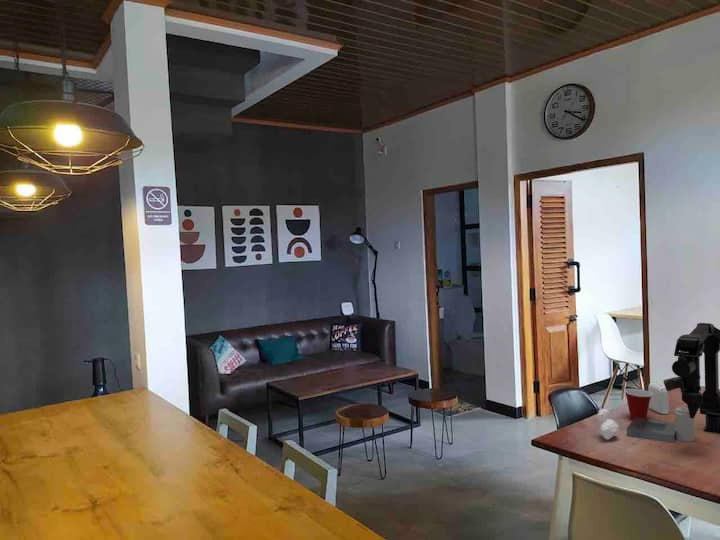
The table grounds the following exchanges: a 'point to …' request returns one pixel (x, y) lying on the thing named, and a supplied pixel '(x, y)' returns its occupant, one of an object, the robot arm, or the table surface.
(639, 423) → the jig plate
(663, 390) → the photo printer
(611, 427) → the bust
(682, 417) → the beverage can
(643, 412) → the plastic cup
